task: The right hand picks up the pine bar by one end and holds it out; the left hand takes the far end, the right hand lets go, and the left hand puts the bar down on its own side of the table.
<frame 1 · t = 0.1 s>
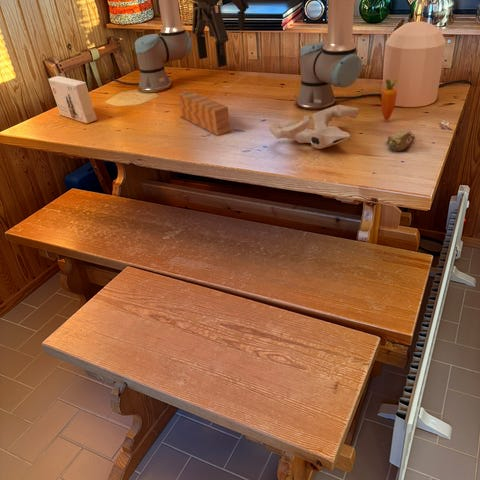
left hand: (227, 33, 179), 28 cm above the table, tool pointing down, fingers open, 13 cm apart
right hand: (212, 62, 144), 28 cm above the table, tool pointing down, fingers open, 13 cm apart
carrot: (386, 121, 166), on the table
rock: (401, 146, 148), on the table
bar: (204, 123, 179), on the table
skincare box: (77, 118, 197), on the table
container: (408, 98, 183), on the table
cream branched piece: (321, 145, 153), on the table
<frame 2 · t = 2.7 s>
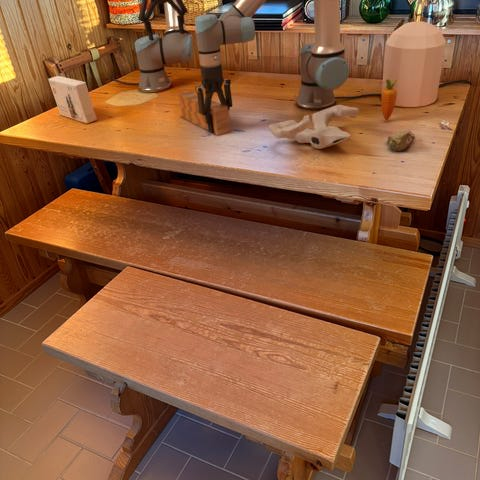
left hand: (166, 36, 183), 28 cm above the table, tool pointing down, fingers open, 13 cm apart
right hand: (218, 129, 171), 1 cm above the table, tool pointing down, fingers closed on bar, 5 cm apart
bar: (204, 123, 179), on the table, touching right hand
everything else where it was.
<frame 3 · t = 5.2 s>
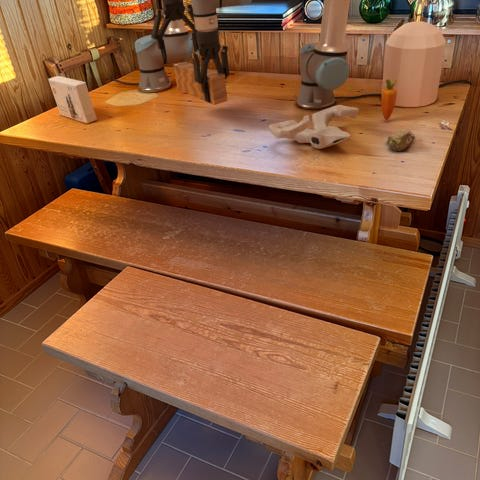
left hand: (180, 55, 174), 24 cm above the table, tool pointing down, fingers open, 13 cm apart
right hand: (215, 99, 165), 12 cm above the table, tool pointing down, fingers closed on bar, 5 cm apart
bar: (201, 94, 172), point 11 cm above the table, touching right hand
everything else where it was.
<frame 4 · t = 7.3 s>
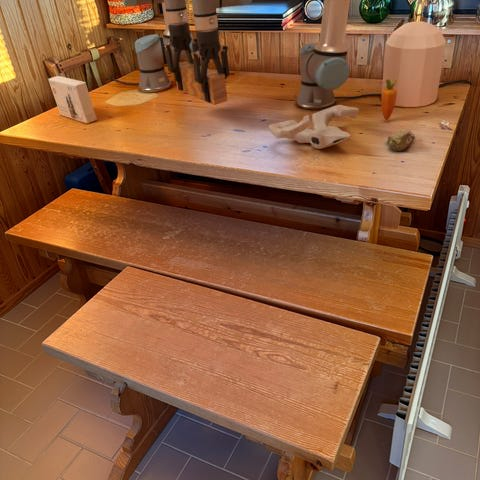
left hand: (187, 87, 179), 12 cm above the table, tool pointing down, fingers closed on bar, 5 cm apart
right hand: (215, 99, 165), 12 cm above the table, tool pointing down, fingers closed on bar, 5 cm apart
bar: (201, 94, 172), point 11 cm above the table, touching left hand, right hand
everything else where it was.
when the right hand's fingers open (12 cm above the table, at t = 8.0 s): bar stays where it is, held by the left hand.
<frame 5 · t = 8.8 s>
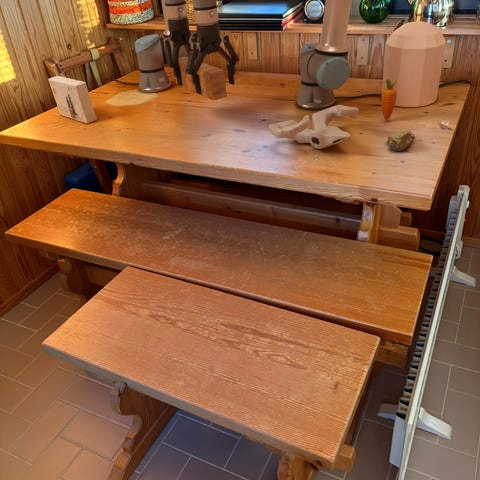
left hand: (187, 83, 179), 14 cm above the table, tool pointing down, fingers closed on bar, 5 cm apart
right hand: (215, 88, 162), 16 cm above the table, tool pointing down, fingers open, 13 cm apart
bar: (200, 90, 172), point 13 cm above the table, touching left hand
everything else where it was.
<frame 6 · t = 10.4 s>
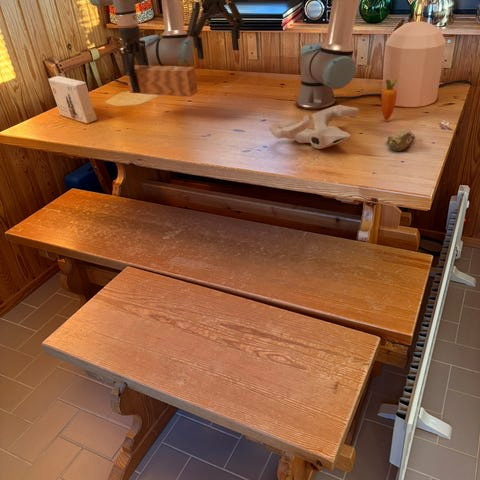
left hand: (141, 89, 182), 12 cm above the table, tool pointing down, fingers closed on bar, 5 cm apart
right hand: (218, 54, 152), 28 cm above the table, tool pointing down, fingers open, 13 cm apart
bar: (163, 92, 179), point 11 cm above the table, touching left hand
everything else where it was.
when the left hand's fingers open (2 cm above the table, at t = 11.6 s): bar stays where it is, on the table.
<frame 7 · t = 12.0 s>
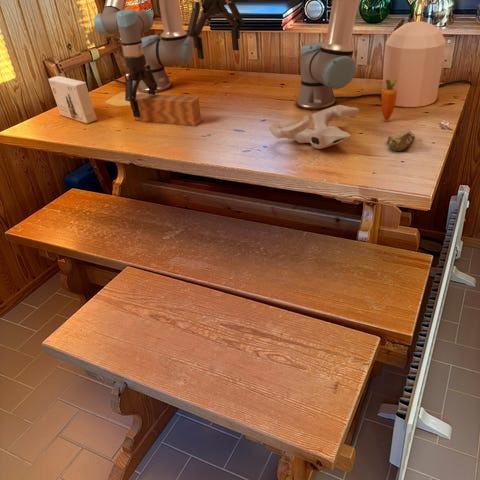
left hand: (145, 111, 187), 3 cm above the table, tool pointing down, fingers open, 11 cm apart
right hand: (218, 54, 152), 28 cm above the table, tool pointing down, fingers open, 13 cm apart
bar: (168, 120, 185), on the table
everything else where it was.
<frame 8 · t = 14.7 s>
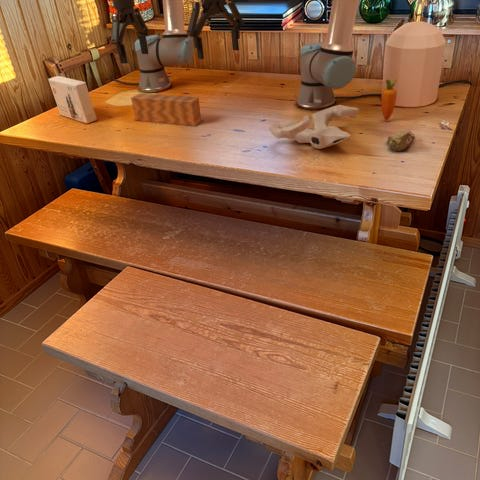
left hand: (135, 58, 176), 24 cm above the table, tool pointing down, fingers open, 13 cm apart
right hand: (218, 54, 152), 28 cm above the table, tool pointing down, fingers open, 13 cm apart
nothing on the table moved.
at the end: bar inside the target area (10.0 cm from its centre), on the table; the left hand is holding nothing; the right hand is holding nothing; bar at rest at the end (0.0 cm/s) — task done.
